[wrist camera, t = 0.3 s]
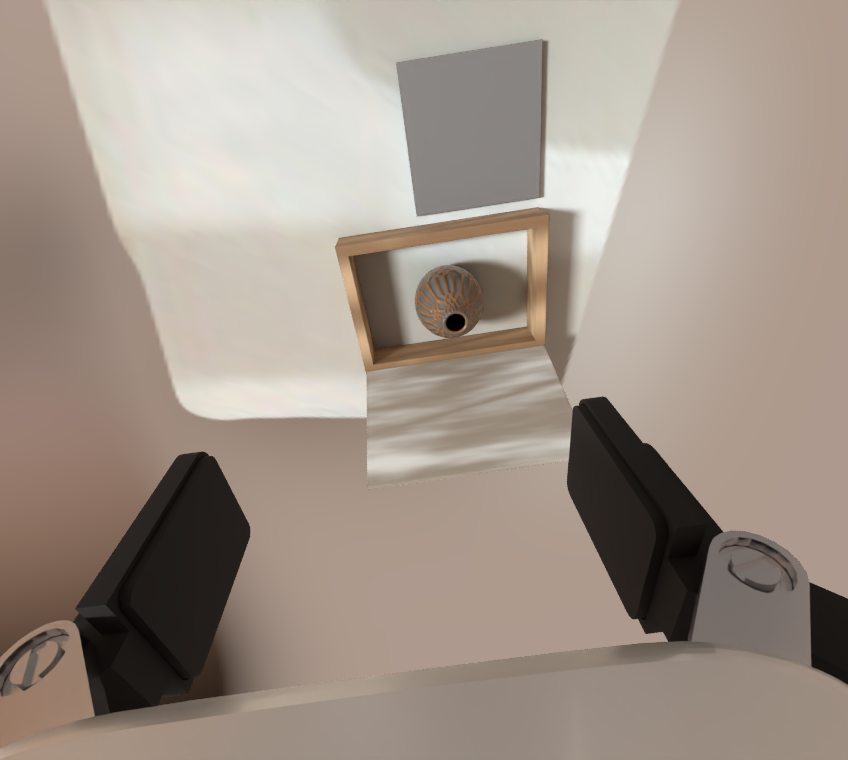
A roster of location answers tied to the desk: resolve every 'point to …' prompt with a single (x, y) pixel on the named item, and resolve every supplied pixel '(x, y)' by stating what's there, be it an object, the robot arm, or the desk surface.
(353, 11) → the desk surface
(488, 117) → the mat
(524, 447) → the frame
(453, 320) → the vase
